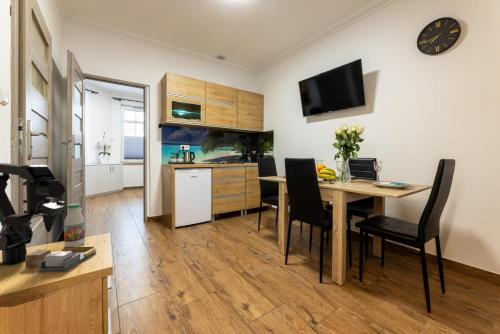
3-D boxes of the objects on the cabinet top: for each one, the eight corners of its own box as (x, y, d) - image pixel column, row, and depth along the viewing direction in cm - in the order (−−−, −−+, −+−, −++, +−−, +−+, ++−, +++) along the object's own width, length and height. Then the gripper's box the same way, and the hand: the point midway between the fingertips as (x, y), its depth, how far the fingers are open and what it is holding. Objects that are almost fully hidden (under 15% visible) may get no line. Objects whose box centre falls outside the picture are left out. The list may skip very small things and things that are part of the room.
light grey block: (44, 266, 79) (44, 256, 79) (57, 260, 85) (56, 250, 84) (63, 266, 80) (63, 255, 79) (74, 259, 85) (74, 250, 85)
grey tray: (38, 272, 78) (37, 262, 78) (73, 252, 95) (73, 245, 95) (65, 271, 79) (65, 262, 79) (96, 252, 95) (96, 244, 95)
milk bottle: (61, 245, 103) (60, 204, 102) (81, 240, 109) (80, 202, 109) (68, 249, 99) (67, 206, 98) (87, 243, 105) (86, 203, 105)
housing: (25, 268, 82) (25, 255, 81) (38, 261, 87) (37, 249, 86) (39, 267, 82) (38, 255, 82) (50, 261, 87) (50, 249, 87)
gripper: (34, 201, 74) (35, 245, 75) (76, 193, 93) (77, 228, 94) (1, 201, 74) (3, 245, 75) (50, 193, 93) (51, 228, 93)
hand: (37, 235), depth 84 cm, fingers open, 9 cm apart
